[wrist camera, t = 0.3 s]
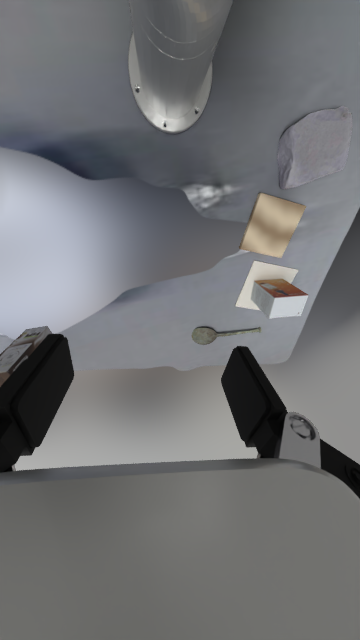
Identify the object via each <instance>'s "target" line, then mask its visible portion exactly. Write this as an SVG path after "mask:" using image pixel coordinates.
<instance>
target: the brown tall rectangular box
mask: <svg viewBox="0 0 360 640" xmlns="http://www.w3.org/2000/svg"><path fill="white" fill-rule="evenodd" d="M48 334H52V332H51V331H50V329H49V328H48V326H45V327H38V328H32V329H26V330H25V331H24V332H23V333H22V334H21V335H20V336H19V337H18V338H17V339H16V340H15V341H14V342H13V343H12V344H11V345H10V346H9V347H8V348H6V349H5V350H4V351H3V352H2V353H1V354H0V387H1V386H2V384H3V383H4V382H5V381H6V380H7V379H8V378H9V376H10V375H11V374H12V373H13V372H14V371H15V370H16V368H17V367H18V366H19V365H20V364H21V363H22V362H23V361H24V360H25V359H27V358H28V357H29V356H30V355H31V354H32V352H33V351H34V350H35V349H36V348H37V347H38V345H39V344H40V343H41V342H42V341H43V340H44V339H45V337H46V336H47V335H48Z"/></svg>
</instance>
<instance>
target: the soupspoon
mask: <svg viewBox="0 0 360 640" xmlns="http://www.w3.org/2000/svg"><path fill="white" fill-rule="evenodd" d="M249 332H252V333H253V332H261V328H260V327H259V328H257V329H254V330H249V331H241V332H233V333H223V334H217V333H216V332H215V331H214V330H211V329H209V328H196V329H194V330H193V332H192V339H193V341H194V342H196V343H198V344H201V345H206V344H210V343H212V342H213V341H214V340H215V339H216V337H219V336H229V335H236V334H242V333H249Z"/></svg>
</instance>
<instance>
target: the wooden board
mask: <svg viewBox="0 0 360 640" xmlns="http://www.w3.org/2000/svg"><path fill="white" fill-rule="evenodd" d="M305 208H306V206H304V205H300V204H297V203H294V202H290V201H287V200H283V199H280V198H277V197H273V196H270V195H267V194H263V193H259V194H258V196H257V199H256V202H255V205H254V207H253V210H252V213H251V216H250V219H249V221H248V224H247V227H246V230H245V232H244V235H243V238H242V241H241V243H240V246H239V249H243V250H247V251H252V252H256V253H261V254H265V255H270V256H274V257H279V258H281V257H282V255H283V253H284V251H285V249H286V247H287V245H288V243H289V241H290V239H291V237H292V235H293V233H294V231H295V229H296V226H297V224H298V222H299V220H300V218H301V216H302V214H303V212H304V210H305Z"/></svg>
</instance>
